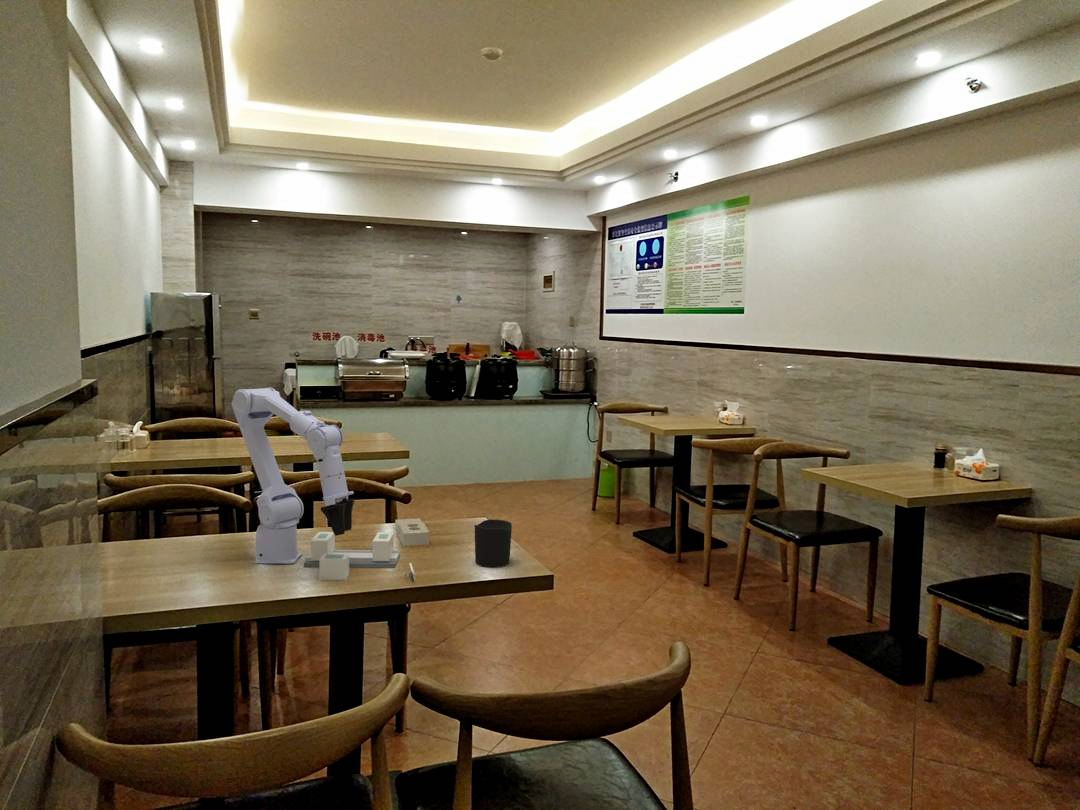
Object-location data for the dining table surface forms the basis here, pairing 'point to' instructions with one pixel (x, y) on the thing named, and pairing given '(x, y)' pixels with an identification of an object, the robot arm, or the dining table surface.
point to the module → (334, 566)
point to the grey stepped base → (356, 551)
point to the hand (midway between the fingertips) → (343, 532)
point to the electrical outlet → (412, 532)
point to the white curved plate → (412, 573)
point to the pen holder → (493, 543)
